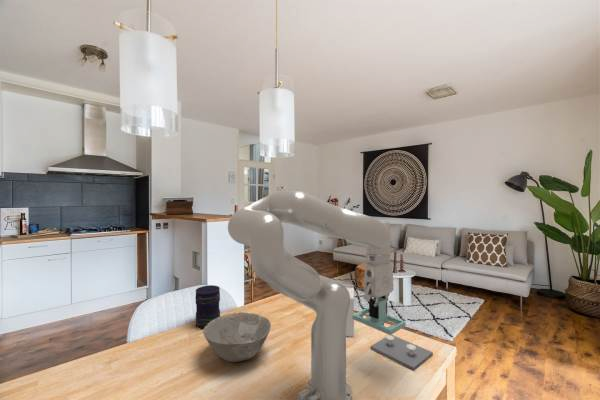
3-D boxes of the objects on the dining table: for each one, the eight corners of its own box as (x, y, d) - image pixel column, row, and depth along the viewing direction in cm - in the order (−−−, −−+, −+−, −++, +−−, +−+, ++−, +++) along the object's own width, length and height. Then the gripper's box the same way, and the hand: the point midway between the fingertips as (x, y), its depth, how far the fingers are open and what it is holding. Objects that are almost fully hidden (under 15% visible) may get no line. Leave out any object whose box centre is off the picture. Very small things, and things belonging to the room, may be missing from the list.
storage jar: (224, 319, 122) (223, 285, 121) (213, 330, 112) (213, 293, 112) (202, 318, 123) (202, 284, 123) (190, 328, 113) (190, 292, 113)
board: (413, 370, 86) (413, 358, 86) (370, 348, 98) (370, 338, 98) (432, 355, 94) (432, 344, 94) (390, 336, 106) (390, 327, 106)
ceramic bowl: (246, 385, 80) (246, 350, 80) (188, 364, 89) (187, 334, 89) (283, 346, 100) (283, 319, 100) (232, 333, 109) (231, 308, 109)
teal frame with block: (390, 335, 81) (390, 310, 80) (352, 318, 91) (352, 296, 91) (405, 326, 86) (405, 302, 86) (368, 311, 97) (368, 290, 97)
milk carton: (353, 337, 106) (353, 288, 106) (335, 335, 108) (335, 286, 107) (353, 328, 113) (353, 282, 113) (336, 326, 115) (336, 281, 114)
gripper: (372, 265, 80) (372, 327, 80) (402, 256, 91) (402, 311, 91) (352, 260, 86) (352, 319, 86) (382, 252, 97) (382, 304, 97)
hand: (378, 314), depth 89 cm, fingers closed on teal frame with block, 4 cm apart
